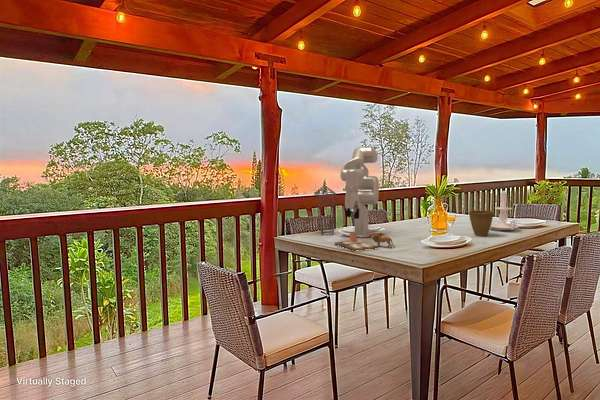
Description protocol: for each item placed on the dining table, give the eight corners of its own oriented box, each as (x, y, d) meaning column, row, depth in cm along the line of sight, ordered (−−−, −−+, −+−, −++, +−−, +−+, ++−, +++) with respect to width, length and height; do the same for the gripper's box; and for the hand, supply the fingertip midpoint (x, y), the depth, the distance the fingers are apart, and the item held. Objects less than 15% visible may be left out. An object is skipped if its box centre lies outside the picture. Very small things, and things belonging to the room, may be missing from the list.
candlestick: (500, 234, 274) (501, 192, 271) (481, 228, 298) (482, 190, 295) (529, 232, 275) (530, 191, 272) (508, 226, 300) (509, 189, 297)
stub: (359, 241, 256) (359, 230, 255) (363, 242, 251) (363, 232, 250) (342, 243, 251) (342, 232, 250) (346, 244, 247) (346, 233, 246)
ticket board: (356, 241, 263) (356, 238, 263) (377, 249, 241) (377, 245, 241) (334, 244, 257) (334, 241, 256) (354, 252, 235) (354, 248, 234)
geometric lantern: (338, 235, 287) (336, 186, 283) (316, 236, 288) (313, 187, 284) (337, 231, 303) (334, 184, 299) (316, 232, 303) (313, 185, 299)
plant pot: (488, 233, 278) (488, 210, 276) (496, 237, 263) (497, 213, 262) (465, 233, 280) (466, 210, 278) (472, 237, 265) (473, 213, 263)
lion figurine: (370, 247, 246) (370, 232, 245) (372, 245, 251) (372, 231, 250) (394, 248, 240) (394, 233, 239) (396, 246, 245) (396, 232, 244)
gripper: (339, 189, 254) (340, 216, 256) (354, 190, 238) (354, 219, 240) (350, 189, 257) (350, 215, 259) (365, 190, 241) (365, 218, 243)
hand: (352, 217), depth 249 cm, fingers open, 9 cm apart
